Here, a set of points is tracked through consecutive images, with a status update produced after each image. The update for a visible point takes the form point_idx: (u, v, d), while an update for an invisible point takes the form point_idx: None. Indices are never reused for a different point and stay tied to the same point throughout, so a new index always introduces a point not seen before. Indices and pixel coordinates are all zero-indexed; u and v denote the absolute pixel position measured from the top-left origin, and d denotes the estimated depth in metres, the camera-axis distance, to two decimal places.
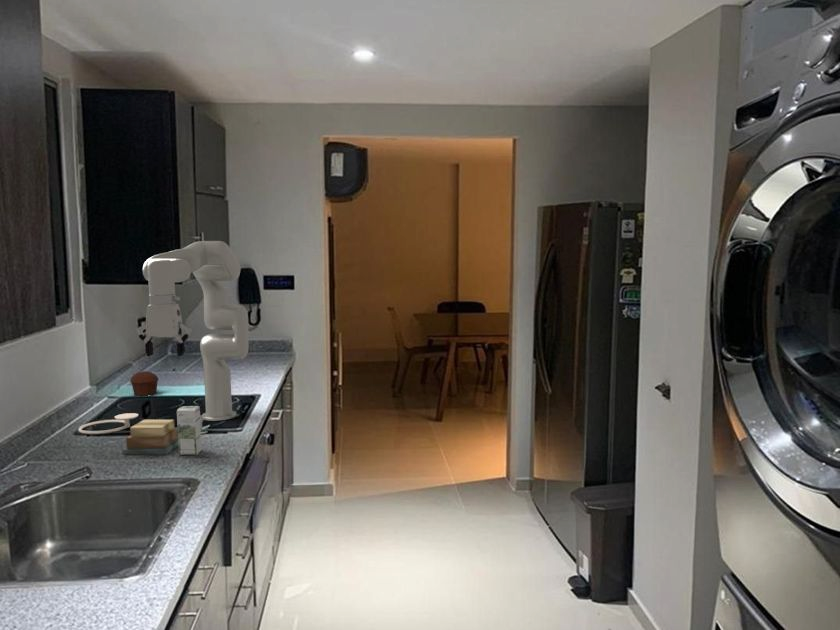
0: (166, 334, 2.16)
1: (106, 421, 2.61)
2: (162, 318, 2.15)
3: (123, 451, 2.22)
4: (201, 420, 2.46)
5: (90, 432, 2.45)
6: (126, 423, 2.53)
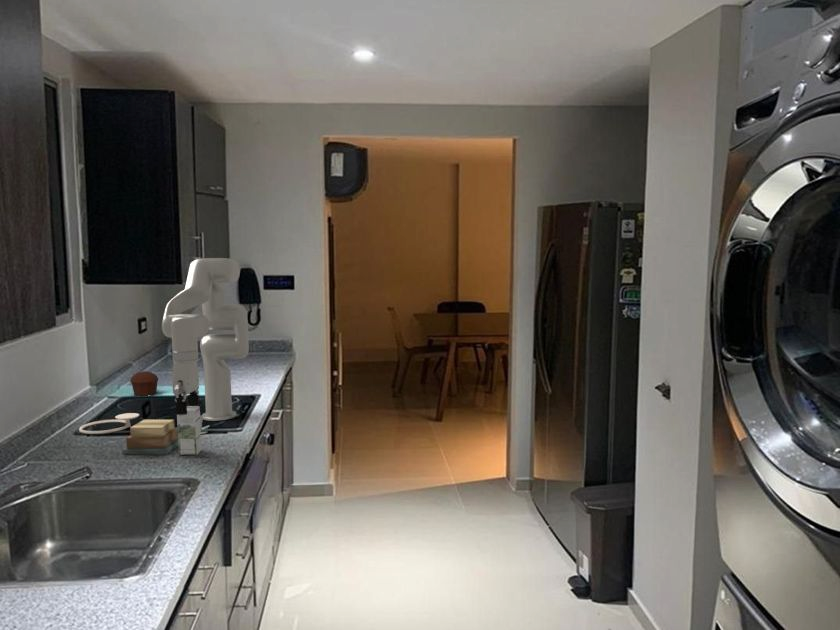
0: (195, 388, 2.21)
1: (106, 421, 2.61)
2: (195, 372, 2.20)
3: (123, 451, 2.22)
4: (201, 420, 2.46)
5: (91, 432, 2.46)
6: (127, 423, 2.54)
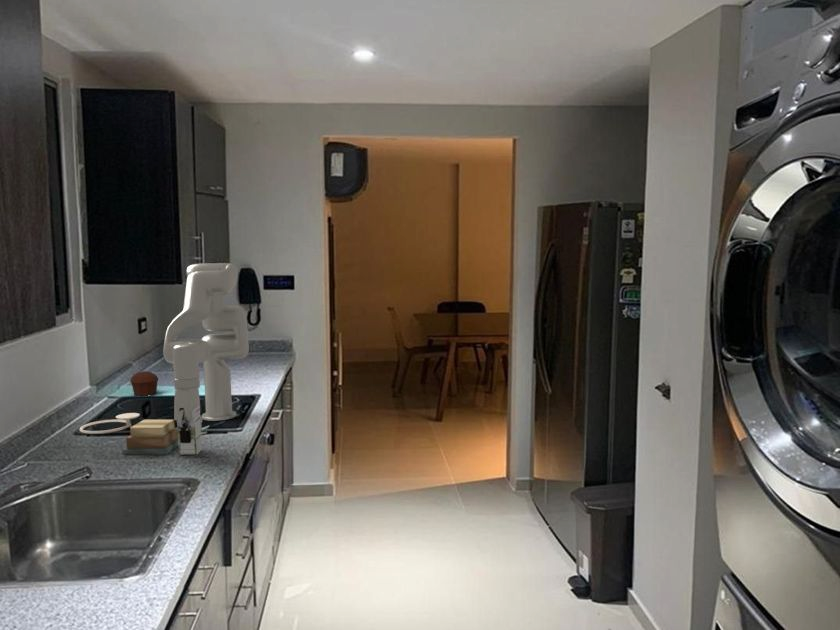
0: None
1: (107, 421, 2.61)
2: (196, 399, 2.21)
3: (123, 451, 2.22)
4: (200, 421, 2.45)
5: (92, 432, 2.46)
6: (127, 423, 2.54)
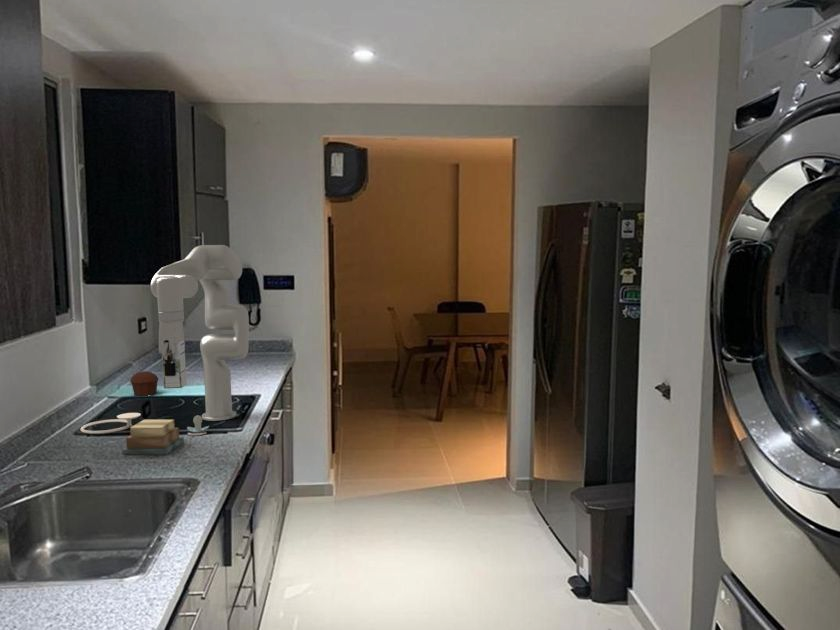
0: None
1: (107, 421, 2.61)
2: (181, 333, 2.21)
3: (123, 451, 2.22)
4: (200, 421, 2.45)
5: (93, 432, 2.46)
6: (128, 423, 2.54)
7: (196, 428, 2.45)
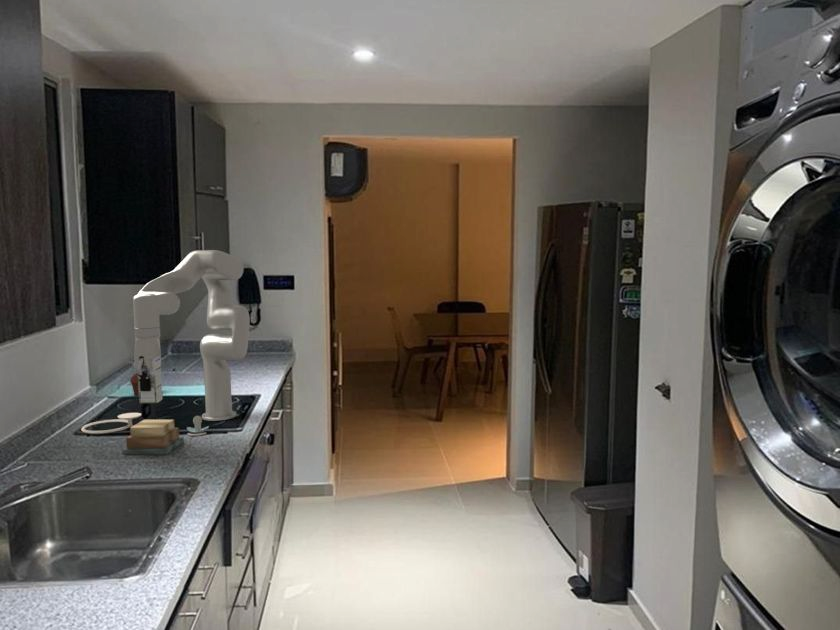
0: None
1: (108, 421, 2.61)
2: (157, 349, 2.25)
3: (123, 451, 2.22)
4: (200, 421, 2.44)
5: (94, 432, 2.46)
6: (129, 422, 2.54)
7: (196, 428, 2.44)
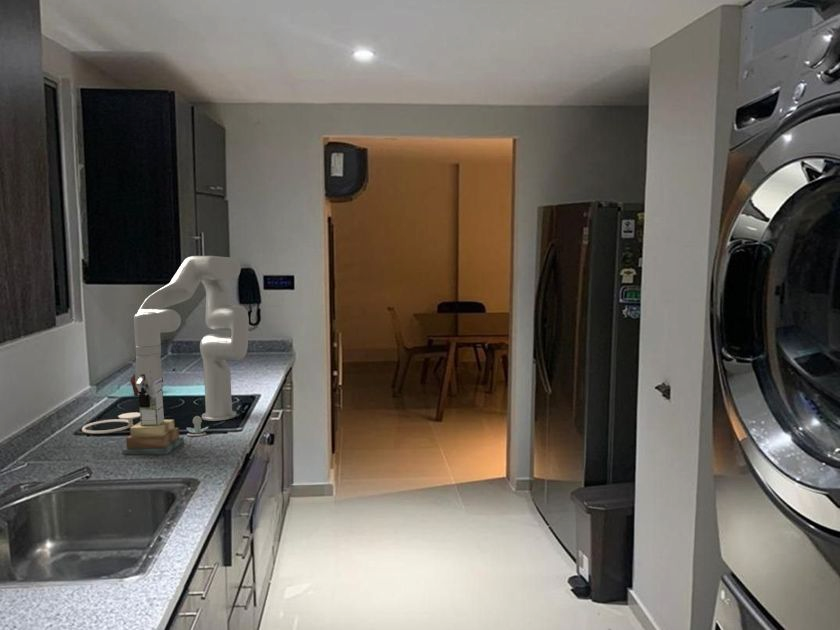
0: None
1: (108, 421, 2.61)
2: (158, 366, 2.26)
3: (123, 451, 2.22)
4: (200, 422, 2.44)
5: (95, 432, 2.46)
6: (130, 422, 2.54)
7: (195, 429, 2.44)
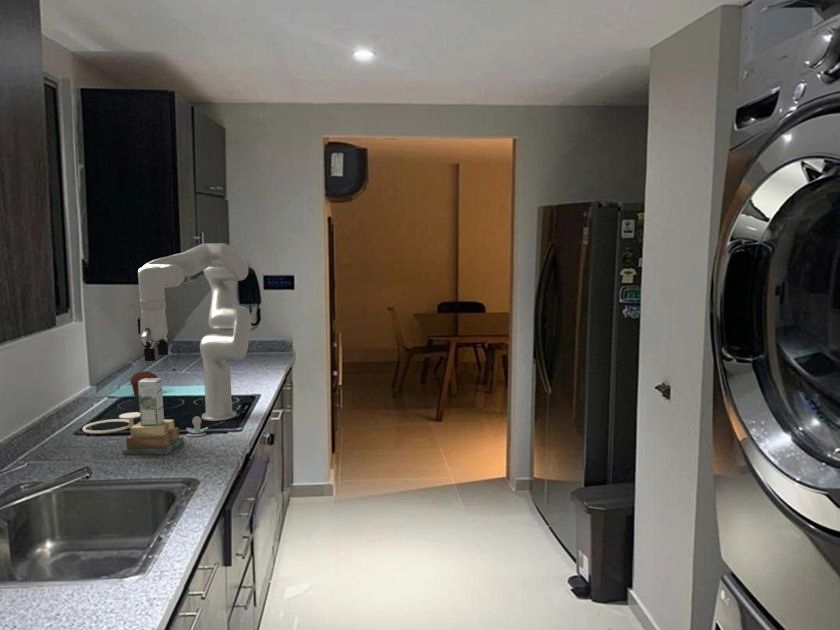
0: (163, 336, 2.29)
1: (108, 421, 2.61)
2: (162, 321, 2.27)
3: (123, 451, 2.22)
4: (199, 422, 2.43)
5: (96, 431, 2.46)
6: (130, 422, 2.55)
7: (195, 429, 2.43)
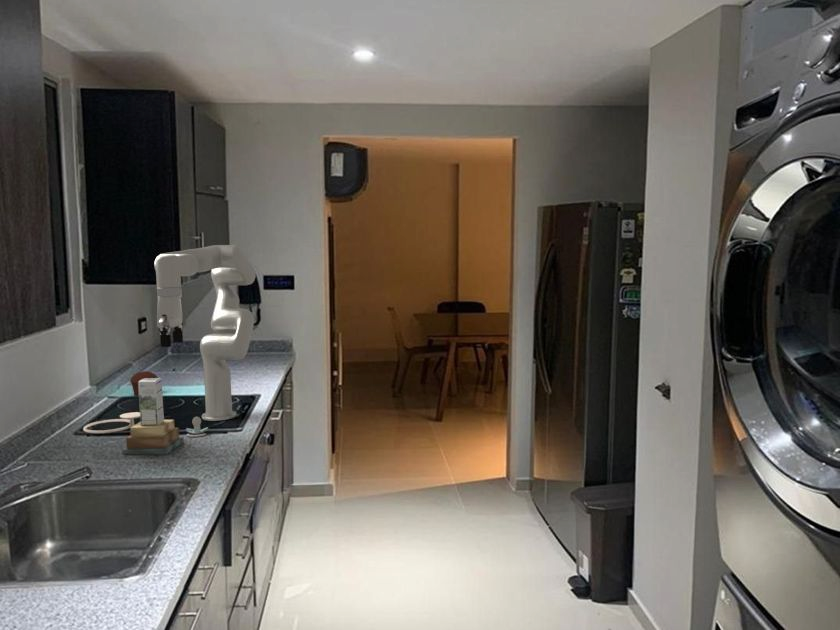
0: (179, 323, 2.34)
1: (109, 421, 2.61)
2: (178, 308, 2.33)
3: (123, 451, 2.22)
4: (199, 422, 2.43)
5: (96, 431, 2.46)
6: (131, 422, 2.55)
7: (195, 429, 2.43)
